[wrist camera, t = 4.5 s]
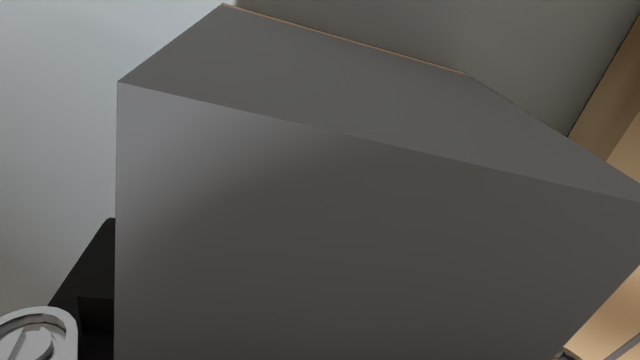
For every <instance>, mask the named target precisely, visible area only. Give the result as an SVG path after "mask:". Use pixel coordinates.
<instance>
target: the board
mask: <svg viewBox="0 0 640 360" xmlns="http://www.w3.org/2000/svg"><path fill="white" fill-rule="evenodd" d="M567 138H569V139H570V140H572V141H574V142H575V143H577V144H578V145H580V146H582V147H583V148H585V149H586V150H588V151H589V152H591V153H593V154H594V155H596V156H597V157H599V158H601V159H602V160H604V161H605V162H607V163H608V164H610V165H612V166H613V167H615V168H616V169H618V170H620V171H621V172H623V173H624V174H626V175H627V176H629V177H631V178H632V179H634V180H635V181H637V182H639V183H640V14H639V16H638V18H637V19H636V21H635V23H634V24H633V26H632V28H631V30H630V31H629V33H628V35H627V36H626V38H625V40H624V41H623V43H622V45H621V47H620V48H619V50H618V52H617V53H616V55H615V57H614V59H613V60H612V62H611V64H610V65H609V67H608V69H607V71H606V72H605V74H604V76H603V77H602V79H601V81H600V83H599V84H598V86H597V88H596V89H595V91H594V93H593V94H592V96H591V98H590V100H589V101H588V103H587V105H586V106H585V108H584V110H583V112H582V113H581V115H580V117H579V118H578V120H577V122H576V124H575V125H574V127H573V129H572V130H571V132H570V134H569V136H568V137H567ZM563 347H565V348H567V349H569V350H570V351H572V352H573V353H574V354H576V355H577V356H579V357H580V358H581V359H582V360H640V265H639V266H638V267H637V268H636V270H635V271H634V272H633V273H632V274H631V275H630V276H629V277H628V278H627V279H626V280H625V281H624V282H623V283H622V284H621V286H620V287H619V288H618V289H617V290H616V291H615V292H614V293H613V294H612V295H611V296H610V297H609V298H608V299H607V301H606V302H605V303H604V304H603V305H602V306H601V307H600V308H599V309H598V310H597V311H596V312H595V313H594V314H593V315H592V317H591V318H590V319H589V320H588V321H587V322H586V323H585V324H584V325H583V326H582V327H581V328H580V329H579V330H578V331H577V333H576V334H575V335H574V336H573V337H572V338H571V339H570V340H569V341H568V342H567V343H566V344H565V345H564V346H563Z"/></svg>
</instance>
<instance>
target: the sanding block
mask: <svg viewBox="0 0 640 360" xmlns="http://www.w3.org/2000/svg"><path fill="white" fill-rule="evenodd" d="M639 265H640V183H639V182H637V181H635V180H634V179H632V178H631V177H629V176H627V175H626V174H624V173H623V172H621V171H620V170H618V169H616V168H615V167H613V166H612V165H610V164H608V163H607V162H605V161H604V160H602V159H601V158H599V157H597V156H596V155H594V154H593V153H591V152H589V151H588V150H586V149H585V148H583V147H582V146H580V145H578V144H577V143H575V142H574V141H572V140H570V139H569V138H567V137H566V136H564V135H563V134H561V133H559V132H558V131H556V130H555V129H553V128H551V127H550V126H548V125H547V124H545V123H544V122H542V121H540V120H539V119H537V118H536V117H534V116H532V115H531V114H529V113H528V112H526V111H525V110H523V109H521V108H520V107H518V106H517V105H515V104H513V103H512V102H510V101H509V100H507V99H506V98H504V97H502V96H501V95H499V94H498V93H496V92H494V91H493V90H491V89H490V88H488V87H486V86H485V85H483V84H482V83H480V82H479V81H477V80H475V79H474V78H472V77H471V76H469V75H467V74H466V73H464V72H460V71H457V70H453V69H450V68H446V67H443V66H439V65H436V64H432V63H429V62H426V61H422V60H419V59H415V58H412V57H408V56H405V55H401V54H398V53H394V52H391V51H387V50H384V49H381V48H377V47H374V46H370V45H367V44H363V43H360V42H356V41H353V40H349V39H346V38H343V37H339V36H336V35H332V34H329V33H325V32H322V31H318V30H315V29H311V28H308V27H304V26H301V25H298V24H294V23H291V22H287V21H284V20H280V19H277V18H273V17H270V16H266V15H263V14H260V13H256V12H253V11H249V10H246V9H242V8H239V7H235V6H232V5H228V4H225V3H222V4H221V5H220V6H218V7H217V8H216V9H214V10H213V11H212V12H210V13H209V14H208V15H206V16H205V17H204V18H202V19H201V20H199V21H198V22H197V23H195V24H194V25H193V26H191V27H190V28H189V29H187V30H186V31H185V32H183V33H182V34H181V35H179V36H178V37H177V38H175V39H174V40H173V41H171V42H170V43H169V44H167V45H166V46H165V47H163V48H162V49H161V50H159V51H158V52H157V53H155V54H154V55H152V56H151V57H150V58H148V59H147V60H146V61H144V62H143V63H142V64H140V65H139V66H138V67H136V68H135V69H134V70H132V71H131V72H130V73H128V74H127V75H126V76H124V77H123V78H122V79H120V80H119V81H118V82H117V145H116V222H115V299H114V360H551V359H552V358H553V357H554V356H555V355H556V354H557V353H558V352H559V351H560V350H561V349H562V347H563V346H564V345H565V344H566V343H567V342H568V341H569V340H570V339H571V338H572V337H573V336H574V335H575V334H576V333H577V331H578V330H579V329H580V328H581V327H582V326H583V325H584V324H585V323H586V322H587V321H588V320H589V319H590V318H591V317H592V315H593V314H594V313H595V312H596V311H597V310H598V309H599V308H600V307H601V306H602V305H603V304H604V303H605V302H606V301H607V299H608V298H609V297H610V296H611V295H612V294H613V293H614V292H615V291H616V290H617V289H618V288H619V287H620V286H621V284H622V283H623V282H624V281H625V280H626V279H627V278H628V277H629V276H630V275H631V274H632V273H633V272H634V271H635V270H636V268H637V267H638V266H639Z"/></svg>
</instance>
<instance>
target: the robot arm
mask: <svg viewBox="0 0 640 360" xmlns="http://www.w3.org/2000/svg"><path fill="white" fill-rule="evenodd" d="M115 222H116V218H108V219H107V220H106V221H105V222H104V223H103V224H102V226H101V227H100V229H99V230H98V232H97V233H96V235H95V236H94V238H93V239H92V241H91V242H90V244H89V245H88V246H87V248H86V249H85V251H84V252H83V254H82V255H81V257H80V258H79V260H78V261H77V263H76V264H75V266H74V267H73V269H72V270H71V272H70V273H69V274H68V276H67V277H66V279H65V280H64V282H63V283H62V285H61V286H60V288H59V289H58V291H57V292H56V294H55V295H54V297H53V298H52V300H51V301H50V302H49V304H48V305H47V306H37V307H28V308H24V309H21V310H17V311H14V312H10V313H8V314H6V315H4V316H2V317H0V360H114V299H115ZM551 360H582V359H581V358H580V357H579V356H577V355H576V354H574V353H573V352H572V351H570V350H569V349H567V348H565V347H562V349H561V350H560V351H559V352H558V353H557V354H556V355H555V356H554V357H553V358H552V359H551Z"/></svg>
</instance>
